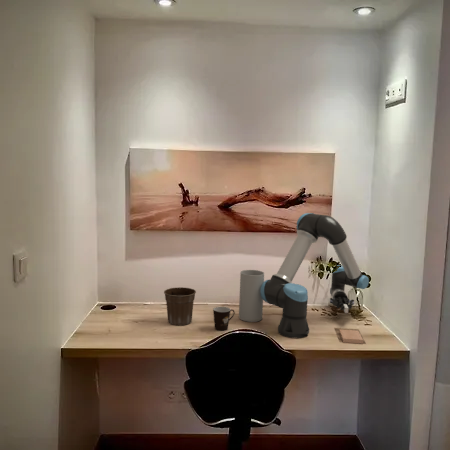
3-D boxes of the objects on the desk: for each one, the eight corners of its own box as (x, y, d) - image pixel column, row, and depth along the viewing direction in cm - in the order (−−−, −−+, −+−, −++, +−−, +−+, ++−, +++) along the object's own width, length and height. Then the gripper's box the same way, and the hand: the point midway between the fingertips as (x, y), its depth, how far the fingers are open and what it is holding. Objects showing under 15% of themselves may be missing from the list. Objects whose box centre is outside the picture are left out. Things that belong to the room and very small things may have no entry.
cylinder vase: (253, 324, 233) (255, 276, 230) (234, 318, 241) (235, 272, 237) (266, 318, 243) (268, 272, 240) (247, 313, 251) (249, 268, 247)
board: (333, 329, 229) (334, 327, 228) (358, 331, 227) (358, 329, 227) (339, 344, 210) (339, 341, 210) (365, 346, 209) (366, 343, 208)
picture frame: (339, 329, 221) (343, 338, 209) (358, 330, 220) (363, 339, 208) (339, 333, 221) (342, 342, 209) (358, 334, 220) (362, 343, 208)
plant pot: (157, 323, 230) (157, 292, 228) (175, 314, 244) (175, 285, 242) (184, 329, 222) (184, 297, 220) (201, 320, 237) (201, 290, 234)
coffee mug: (214, 332, 220) (214, 312, 219) (211, 326, 228) (211, 306, 227) (237, 331, 222) (238, 311, 221) (233, 325, 231) (234, 306, 229)
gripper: (351, 304, 252) (359, 318, 229) (327, 303, 253) (333, 316, 230) (352, 291, 251) (360, 304, 228) (328, 290, 252) (334, 302, 229)
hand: (346, 310), depth 229 cm, fingers closed
